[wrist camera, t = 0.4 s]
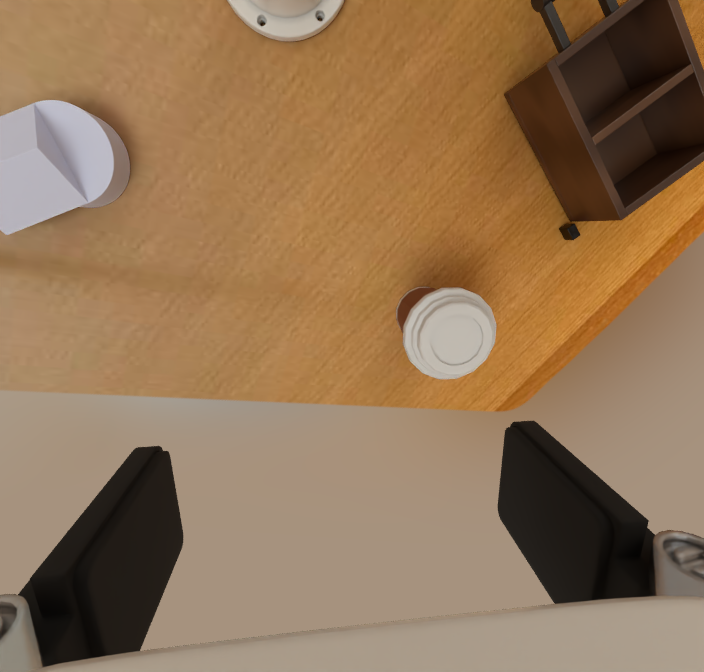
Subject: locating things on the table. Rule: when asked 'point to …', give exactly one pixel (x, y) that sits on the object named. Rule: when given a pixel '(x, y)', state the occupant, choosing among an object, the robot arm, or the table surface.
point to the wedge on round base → (57, 163)
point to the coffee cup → (446, 330)
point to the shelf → (615, 108)
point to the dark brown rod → (569, 231)
